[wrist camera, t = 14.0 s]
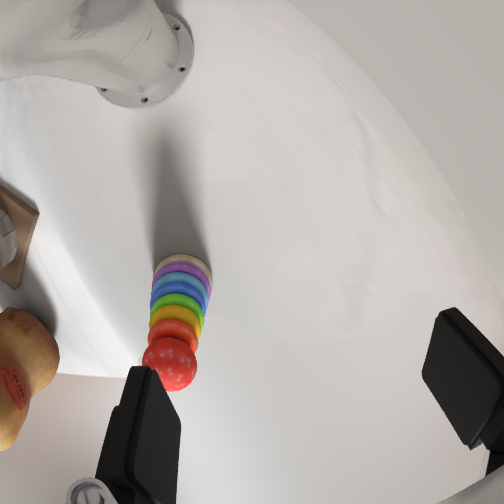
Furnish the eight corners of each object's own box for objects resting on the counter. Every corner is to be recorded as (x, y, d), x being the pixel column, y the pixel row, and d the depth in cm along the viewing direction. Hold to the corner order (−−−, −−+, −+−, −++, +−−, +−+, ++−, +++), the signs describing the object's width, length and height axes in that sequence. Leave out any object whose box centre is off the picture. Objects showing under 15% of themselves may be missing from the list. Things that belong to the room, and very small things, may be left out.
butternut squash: (83, 353, 45) (32, 474, 22) (35, 362, 46) (-16, 462, 23) (40, 284, 40) (-48, 396, 17) (-4, 303, 40) (-79, 395, 17)
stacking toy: (155, 302, 42) (124, 404, 25) (153, 249, 39) (109, 341, 22) (211, 306, 43) (207, 412, 26) (214, 253, 40) (208, 350, 23)
